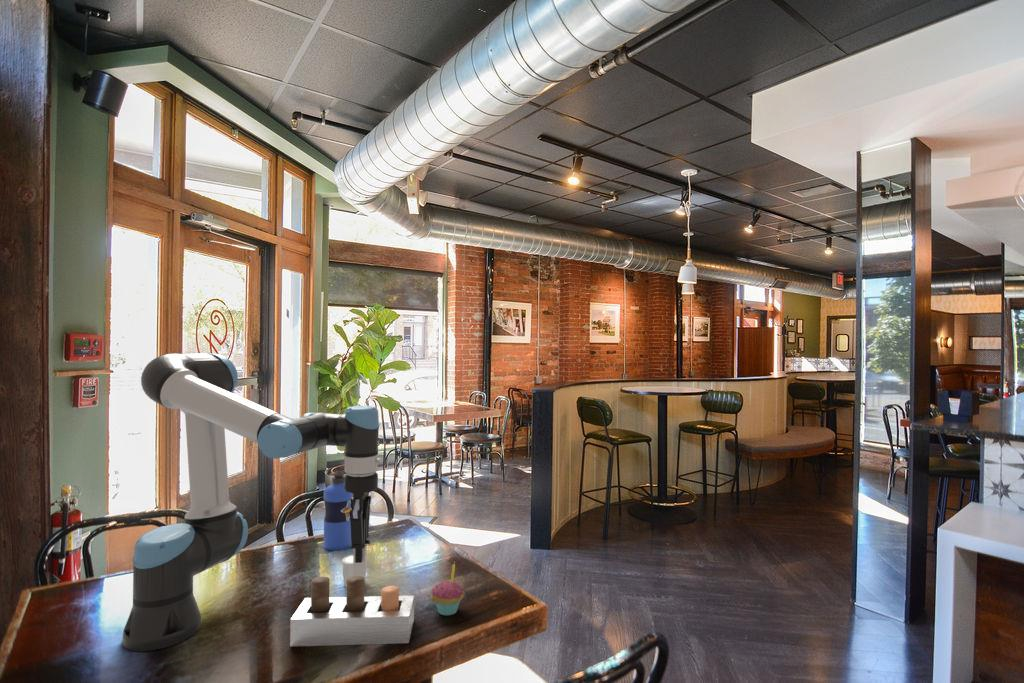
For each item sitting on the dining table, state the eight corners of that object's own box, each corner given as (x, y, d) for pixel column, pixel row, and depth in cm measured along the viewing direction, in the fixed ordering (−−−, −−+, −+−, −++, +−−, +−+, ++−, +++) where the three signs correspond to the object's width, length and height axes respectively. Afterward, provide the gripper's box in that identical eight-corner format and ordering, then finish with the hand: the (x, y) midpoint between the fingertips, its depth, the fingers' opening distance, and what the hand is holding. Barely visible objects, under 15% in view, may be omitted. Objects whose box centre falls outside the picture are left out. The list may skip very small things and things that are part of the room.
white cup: (359, 590, 144) (360, 564, 145) (336, 587, 146) (337, 562, 146) (371, 579, 151) (371, 554, 151) (349, 577, 153) (349, 552, 153)
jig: (290, 646, 117) (290, 619, 117) (304, 623, 127) (305, 597, 127) (408, 643, 119) (408, 616, 119) (413, 620, 129) (414, 595, 129)
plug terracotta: (379, 624, 121) (380, 593, 121) (382, 615, 125) (383, 585, 125) (397, 623, 122) (397, 593, 122) (399, 615, 126) (400, 585, 126)
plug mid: (344, 614, 121) (344, 583, 121) (348, 605, 125) (348, 576, 125) (362, 613, 121) (362, 583, 121) (365, 605, 125) (366, 575, 125)
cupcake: (450, 599, 139) (451, 554, 140) (471, 611, 133) (472, 563, 133) (423, 611, 133) (424, 563, 134) (444, 623, 127) (444, 573, 127)
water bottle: (317, 549, 173) (318, 473, 173) (331, 539, 182) (332, 466, 182) (344, 551, 171) (345, 474, 172) (357, 541, 180) (358, 468, 181)
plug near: (308, 615, 120) (308, 584, 120) (313, 606, 124) (314, 576, 124) (326, 614, 121) (326, 584, 121) (331, 606, 125) (331, 576, 125)
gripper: (372, 479, 117) (370, 586, 117) (382, 466, 130) (380, 562, 130) (337, 480, 117) (336, 587, 117) (351, 466, 130) (349, 562, 130)
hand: (359, 574), depth 123 cm, fingers closed
